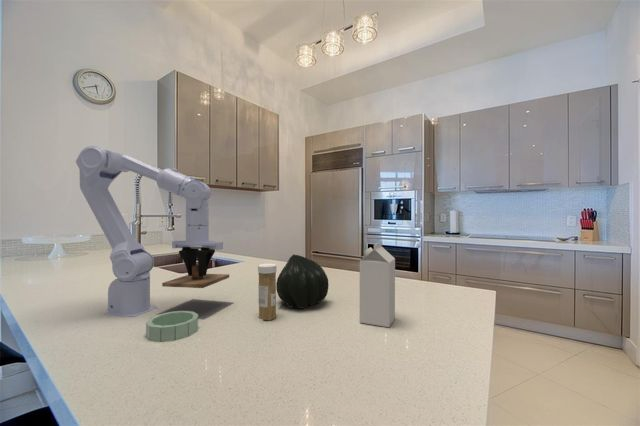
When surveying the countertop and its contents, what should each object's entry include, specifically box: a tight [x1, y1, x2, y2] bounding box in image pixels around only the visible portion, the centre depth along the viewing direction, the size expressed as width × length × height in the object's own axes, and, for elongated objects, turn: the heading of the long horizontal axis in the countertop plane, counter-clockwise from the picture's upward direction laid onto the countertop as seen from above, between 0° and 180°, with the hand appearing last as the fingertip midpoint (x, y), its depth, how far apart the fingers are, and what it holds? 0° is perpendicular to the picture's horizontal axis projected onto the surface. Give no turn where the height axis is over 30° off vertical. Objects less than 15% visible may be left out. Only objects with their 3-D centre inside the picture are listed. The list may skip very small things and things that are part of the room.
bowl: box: [145, 311, 199, 342], centre depth 65 cm, size 10×10×3 cm
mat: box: [155, 298, 234, 321], centre depth 81 cm, size 14×14×1 cm
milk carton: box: [359, 241, 396, 328], centre depth 73 cm, size 7×7×19 cm
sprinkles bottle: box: [257, 262, 277, 321], centre depth 75 cm, size 5×5×14 cm
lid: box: [161, 263, 230, 289], centre depth 81 cm, size 12×12×4 cm
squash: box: [276, 254, 329, 309], centre depth 87 cm, size 14×15×15 cm
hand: (197, 275), depth 81 cm, fingers closed on lid, 3 cm apart
